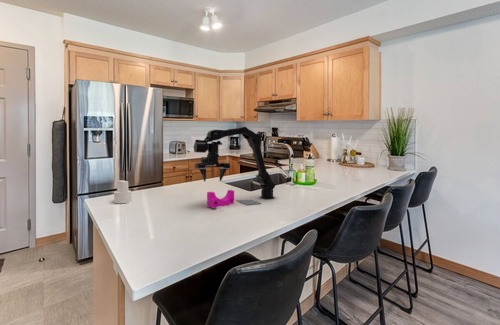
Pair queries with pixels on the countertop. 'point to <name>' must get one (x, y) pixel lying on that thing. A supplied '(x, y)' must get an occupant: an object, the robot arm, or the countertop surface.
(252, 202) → the mat
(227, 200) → the magenta arched bracket
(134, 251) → the countertop surface
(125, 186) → the cylinder with rectangular tab
